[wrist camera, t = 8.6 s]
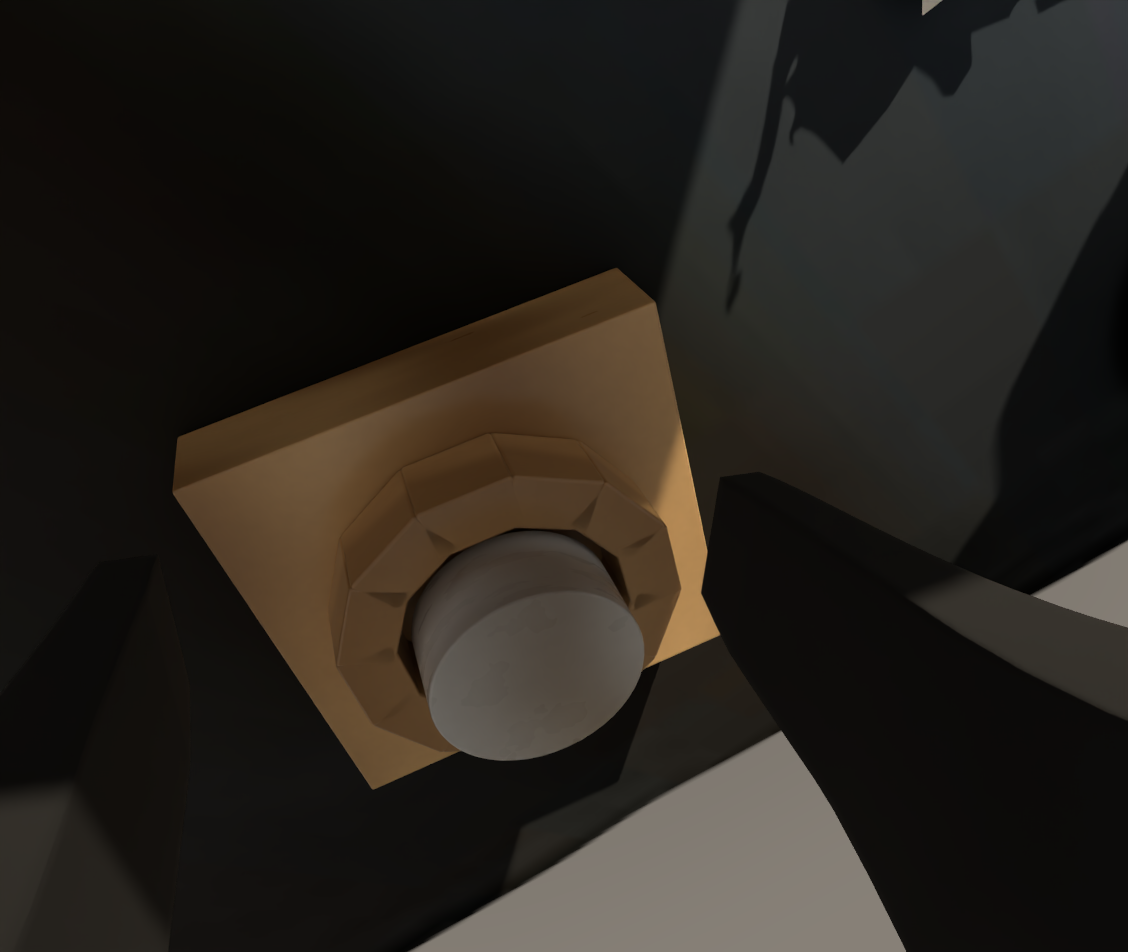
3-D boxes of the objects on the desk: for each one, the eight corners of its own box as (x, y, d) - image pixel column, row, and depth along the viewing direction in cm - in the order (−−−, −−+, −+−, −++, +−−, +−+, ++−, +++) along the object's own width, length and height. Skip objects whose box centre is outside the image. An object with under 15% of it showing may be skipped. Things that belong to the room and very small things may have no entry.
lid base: (361, 726, 24) (382, 851, 21) (176, 436, 18) (165, 548, 15) (690, 583, 25) (758, 680, 22) (616, 266, 19) (695, 335, 16)
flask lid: (450, 718, 20) (470, 791, 18) (378, 583, 17) (394, 653, 15) (627, 640, 20) (662, 704, 18) (583, 497, 18) (620, 557, 16)
